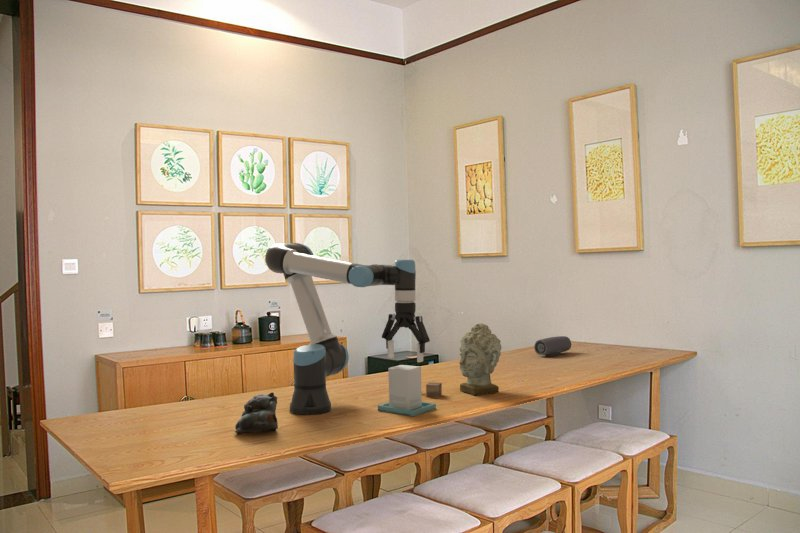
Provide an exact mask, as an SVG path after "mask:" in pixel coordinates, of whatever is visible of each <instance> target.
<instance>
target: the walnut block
mask: <svg viewBox="0 0 800 533" xmlns="http://www.w3.org/2000/svg"><path fill="white" fill-rule="evenodd" d="M442 386H443V385H442V382H435V381H433V382H432V381H429V382H428V383H426V384H425V393H426V394H425V396H426V398H436V399H437V398H438V399H439V398H440V397H441V396H442V395H443V392H442V391H443V389H442V388H443V387H442Z"/></svg>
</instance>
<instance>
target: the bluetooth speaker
mask: <svg viewBox="0 0 800 533" xmlns="http://www.w3.org/2000/svg"><path fill="white" fill-rule="evenodd" d="M571 348H572V342H571V339H570V337H568V336H566V335H565V336H563V335H561V336H551V337H546V338H541V339H539V340H537V341H535V342H534V351H535V353H536V354H537V355H539V356H546V357H554V356H559V355H561V353H564V352H568V351H570V350H571Z"/></svg>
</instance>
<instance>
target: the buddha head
mask: <svg viewBox="0 0 800 533" xmlns="http://www.w3.org/2000/svg"><path fill="white" fill-rule="evenodd" d="M501 350H502V344H501V340H500V338H498V337H497V335H496V334H494V333H492V330H491V329H490V327H489V326H488V325H487V324H484V323H477V324H475V325H473V327H471V328H470V331H469V332H466V333H465V334H464V336H462V337H461V339H460V347H459V351H460V353H459V356H460V358H459V369H460V371H461V375H462V376H463V377H464V378H467V380H466V381H465V382H462V383H461V384H460V385H459V391H460V392H462V393H464V394H465V393H466V394H469V395H471V396H475V397H478V395H479V396H483V395H489V394H491V395H492V394H497V393H500V391H499V390H500V386H499V385H497V384H494V383H492V380H491V374H493V372H494V371H495V367H497V365H498V363H499V361H500V357H501V355H502V354H501Z"/></svg>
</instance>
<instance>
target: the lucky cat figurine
mask: <svg viewBox="0 0 800 533" xmlns="http://www.w3.org/2000/svg"><path fill="white" fill-rule="evenodd" d="M277 404H278V396H276V395H275V393H274V392H272V391H271V392H270V393H268V394H257V395H254V396H253V397H252V398H251V399H249V400H248V401H247V402H246V403H245V404H243V410H244V411H243V412H242V415H241V417H240V419H238V420H237V422H236V424H235V427H234V428H235V430H234V433H235V434H237V435H238V434H241V433H245V432H256V431H257V432H258V431H273V432H276V431H277V429H279V426H278V425H279V424H278V423H279V422H278V418H277V415H276V411H277Z"/></svg>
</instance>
